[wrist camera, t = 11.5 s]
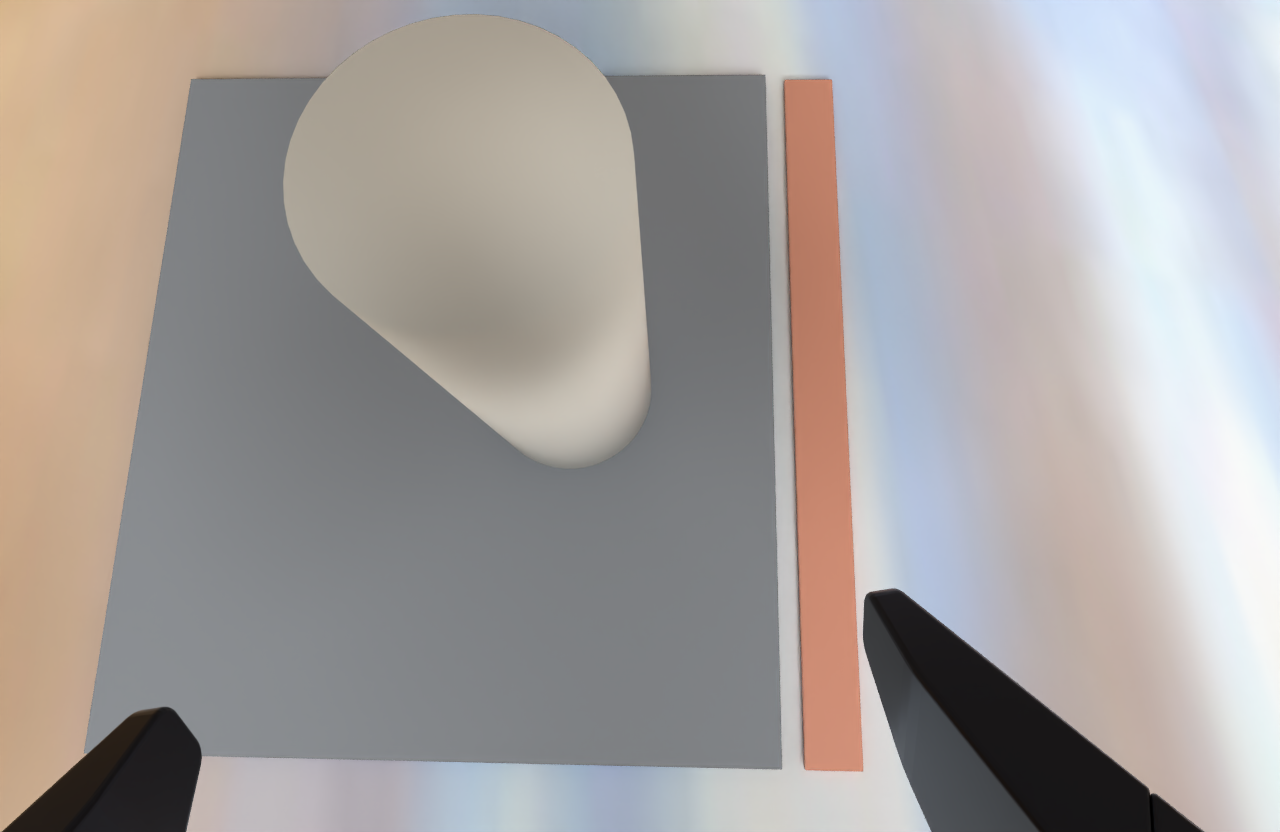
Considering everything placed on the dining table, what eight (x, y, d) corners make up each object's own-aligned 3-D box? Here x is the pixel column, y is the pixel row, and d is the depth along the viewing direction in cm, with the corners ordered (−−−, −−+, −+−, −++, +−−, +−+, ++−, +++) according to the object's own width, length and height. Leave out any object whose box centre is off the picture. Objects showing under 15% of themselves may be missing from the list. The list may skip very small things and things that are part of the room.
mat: (763, 82, 26) (765, 74, 25) (779, 766, 21) (782, 769, 21) (198, 86, 26) (191, 79, 26) (94, 749, 22) (84, 753, 21)
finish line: (784, 83, 26) (784, 80, 26) (830, 83, 26) (832, 79, 25) (804, 768, 21) (805, 770, 21) (861, 769, 21) (863, 771, 21)
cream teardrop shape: (678, 353, 23) (693, 90, 11) (606, 496, 22) (530, 396, 10) (537, 288, 24) (394, -32, 11) (463, 425, 23) (216, 246, 10)
